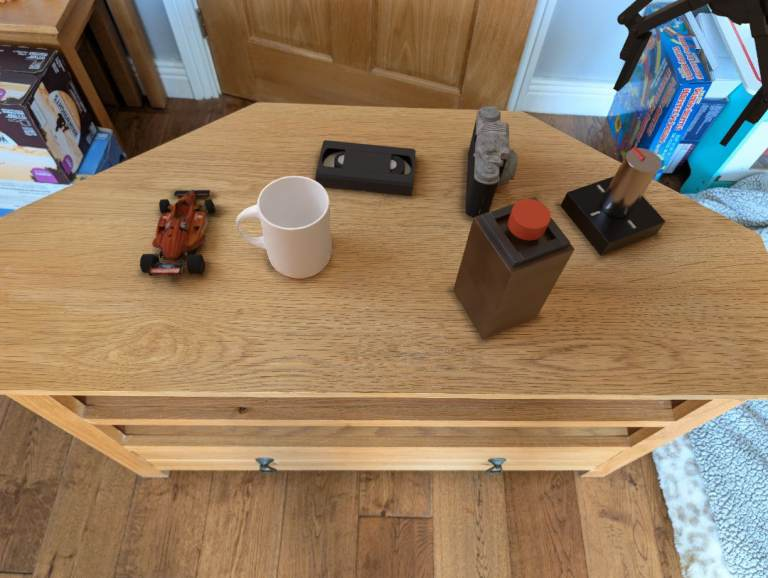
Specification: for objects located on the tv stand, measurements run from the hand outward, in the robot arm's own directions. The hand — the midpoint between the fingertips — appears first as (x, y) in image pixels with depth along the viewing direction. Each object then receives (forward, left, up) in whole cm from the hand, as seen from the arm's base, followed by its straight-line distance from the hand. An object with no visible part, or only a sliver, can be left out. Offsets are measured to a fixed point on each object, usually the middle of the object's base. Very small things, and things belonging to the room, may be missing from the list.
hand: (671, 111), depth 66 cm
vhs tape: (+22, +30, -19) cm, 41 cm away
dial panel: (0, +1, -19) cm, 19 cm away
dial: (0, +1, -16) cm, 16 cm away
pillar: (-6, +24, -19) cm, 31 cm away
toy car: (+20, +58, -19) cm, 64 cm away
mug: (+12, +46, -19) cm, 51 cm away
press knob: (-6, +24, -3) cm, 25 cm away
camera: (+13, +14, -19) cm, 27 cm away
